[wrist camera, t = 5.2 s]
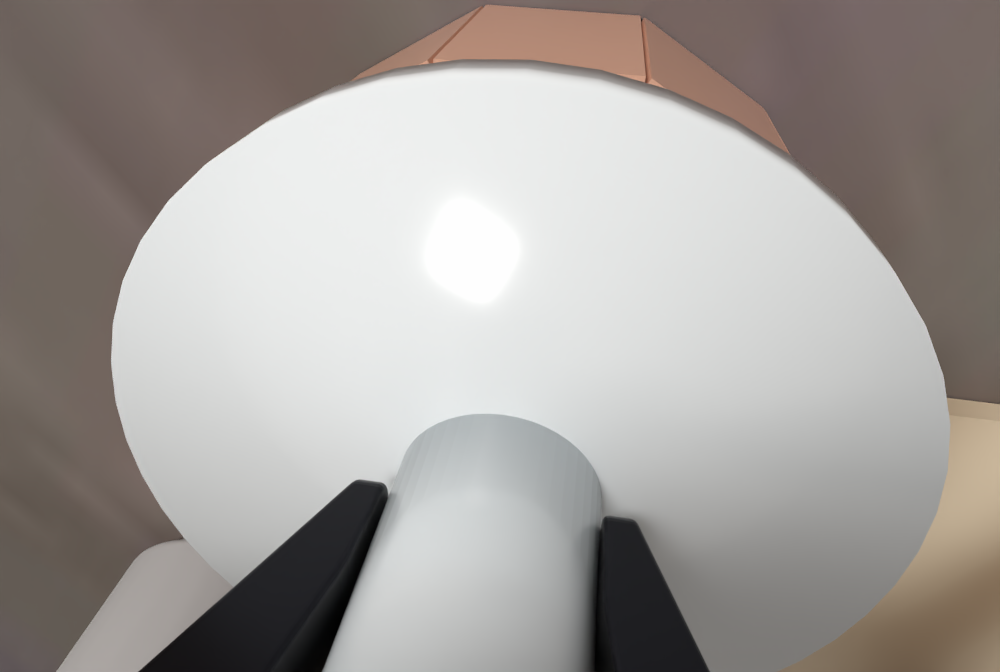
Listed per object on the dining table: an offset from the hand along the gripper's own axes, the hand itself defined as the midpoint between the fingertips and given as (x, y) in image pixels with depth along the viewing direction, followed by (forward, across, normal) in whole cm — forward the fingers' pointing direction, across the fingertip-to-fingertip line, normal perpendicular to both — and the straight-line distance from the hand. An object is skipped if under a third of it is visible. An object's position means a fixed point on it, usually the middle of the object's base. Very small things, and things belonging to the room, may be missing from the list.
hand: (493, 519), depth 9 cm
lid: (+1, 0, 0) cm, 1 cm away
